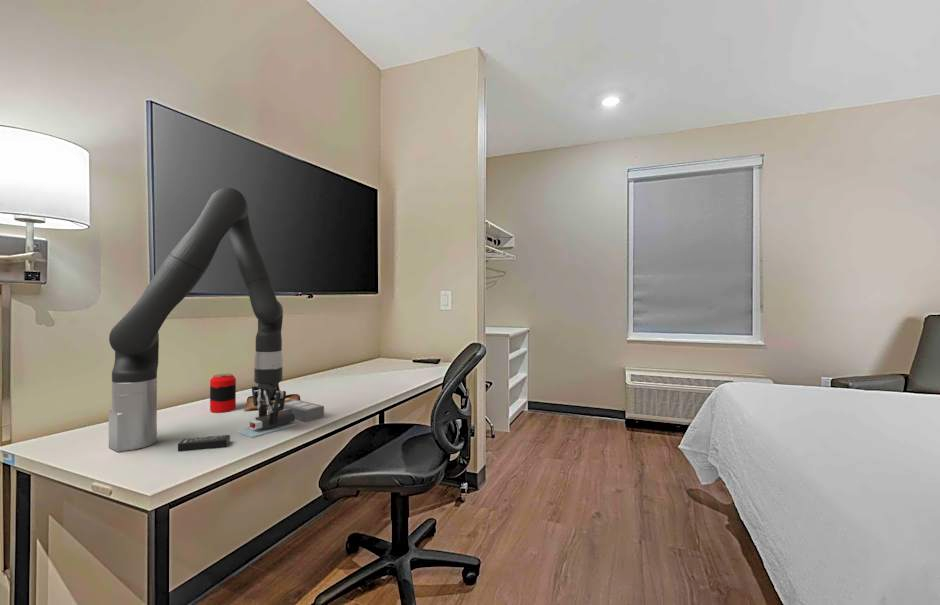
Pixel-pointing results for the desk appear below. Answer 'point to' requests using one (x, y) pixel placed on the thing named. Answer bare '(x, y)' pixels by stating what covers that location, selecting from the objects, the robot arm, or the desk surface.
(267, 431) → the silicone mat
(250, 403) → the sunglasses case
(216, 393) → the soda can
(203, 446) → the multiport hub
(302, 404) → the grey stepped block
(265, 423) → the usb drive
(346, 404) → the desk surface
